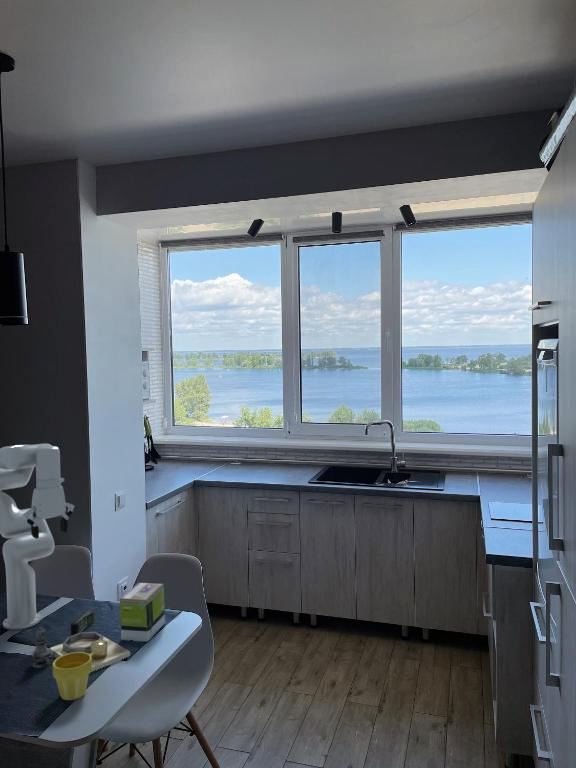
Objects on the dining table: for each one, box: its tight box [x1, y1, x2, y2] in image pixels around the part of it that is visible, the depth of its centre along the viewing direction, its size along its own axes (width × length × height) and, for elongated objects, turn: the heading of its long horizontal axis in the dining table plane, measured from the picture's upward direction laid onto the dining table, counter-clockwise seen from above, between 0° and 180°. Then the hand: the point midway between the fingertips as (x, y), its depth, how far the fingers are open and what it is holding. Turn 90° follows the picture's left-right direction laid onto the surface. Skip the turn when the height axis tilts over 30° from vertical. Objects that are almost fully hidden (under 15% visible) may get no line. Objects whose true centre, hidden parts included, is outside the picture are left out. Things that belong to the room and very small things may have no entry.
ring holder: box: [63, 631, 104, 653], centre depth 195 cm, size 12×12×2 cm
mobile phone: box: [70, 608, 96, 636], centre depth 212 cm, size 5×3×15 cm
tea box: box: [119, 582, 166, 643], centre depth 208 cm, size 15×10×15 cm
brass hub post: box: [91, 640, 108, 660], centre depth 188 cm, size 5×5×4 cm
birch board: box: [49, 635, 131, 674], centre depth 192 cm, size 22×16×2 cm
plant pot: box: [52, 652, 92, 701], centre depth 169 cm, size 10×10×10 cm
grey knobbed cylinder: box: [30, 625, 52, 669], centre depth 186 cm, size 6×6×12 cm
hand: (49, 534), depth 200 cm, fingers open, 9 cm apart
